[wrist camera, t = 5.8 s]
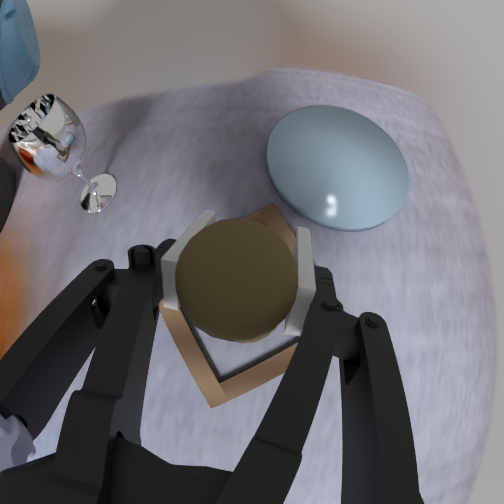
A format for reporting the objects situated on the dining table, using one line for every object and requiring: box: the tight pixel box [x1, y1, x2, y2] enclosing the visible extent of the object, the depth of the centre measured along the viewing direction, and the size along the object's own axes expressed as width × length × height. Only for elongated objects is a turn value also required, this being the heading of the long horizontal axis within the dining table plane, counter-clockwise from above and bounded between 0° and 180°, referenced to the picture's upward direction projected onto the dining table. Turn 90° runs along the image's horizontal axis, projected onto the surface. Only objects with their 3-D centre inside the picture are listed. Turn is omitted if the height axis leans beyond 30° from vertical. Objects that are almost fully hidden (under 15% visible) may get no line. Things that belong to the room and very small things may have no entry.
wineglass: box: [8, 93, 117, 213], centre depth 18 cm, size 6×6×12 cm
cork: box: [175, 218, 298, 343], centre depth 15 cm, size 6×6×11 cm
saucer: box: [267, 106, 409, 232], centre depth 24 cm, size 14×14×1 cm
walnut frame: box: [159, 203, 299, 408], centre depth 20 cm, size 12×12×1 cm
